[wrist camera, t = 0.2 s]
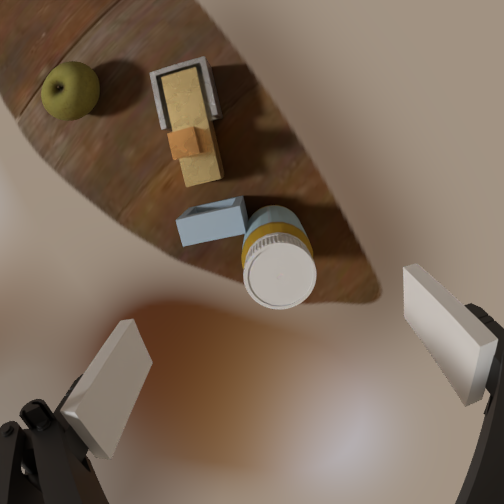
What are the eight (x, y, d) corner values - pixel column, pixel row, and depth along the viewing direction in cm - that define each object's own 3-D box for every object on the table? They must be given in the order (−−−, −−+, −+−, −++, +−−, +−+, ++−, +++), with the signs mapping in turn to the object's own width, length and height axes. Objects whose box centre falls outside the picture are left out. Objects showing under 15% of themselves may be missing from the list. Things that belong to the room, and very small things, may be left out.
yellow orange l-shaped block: (170, 83, 34) (146, 67, 26) (202, 74, 34) (185, 55, 25) (193, 183, 38) (174, 194, 30) (225, 175, 38) (214, 184, 29)
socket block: (189, 207, 40) (175, 220, 34) (243, 195, 40) (239, 205, 33) (195, 229, 41) (182, 246, 35) (248, 218, 41) (245, 233, 34)
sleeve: (162, 80, 35) (149, 72, 30) (211, 66, 35) (204, 56, 30) (173, 131, 37) (161, 129, 33) (223, 118, 37) (217, 114, 32)
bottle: (289, 195, 40) (306, 224, 25) (308, 246, 42) (331, 298, 27) (237, 215, 41) (225, 254, 26) (257, 264, 43) (256, 323, 28)
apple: (93, 57, 34) (67, 45, 27) (119, 97, 36) (93, 90, 29) (56, 92, 35) (26, 88, 28) (79, 133, 37) (50, 133, 30)
